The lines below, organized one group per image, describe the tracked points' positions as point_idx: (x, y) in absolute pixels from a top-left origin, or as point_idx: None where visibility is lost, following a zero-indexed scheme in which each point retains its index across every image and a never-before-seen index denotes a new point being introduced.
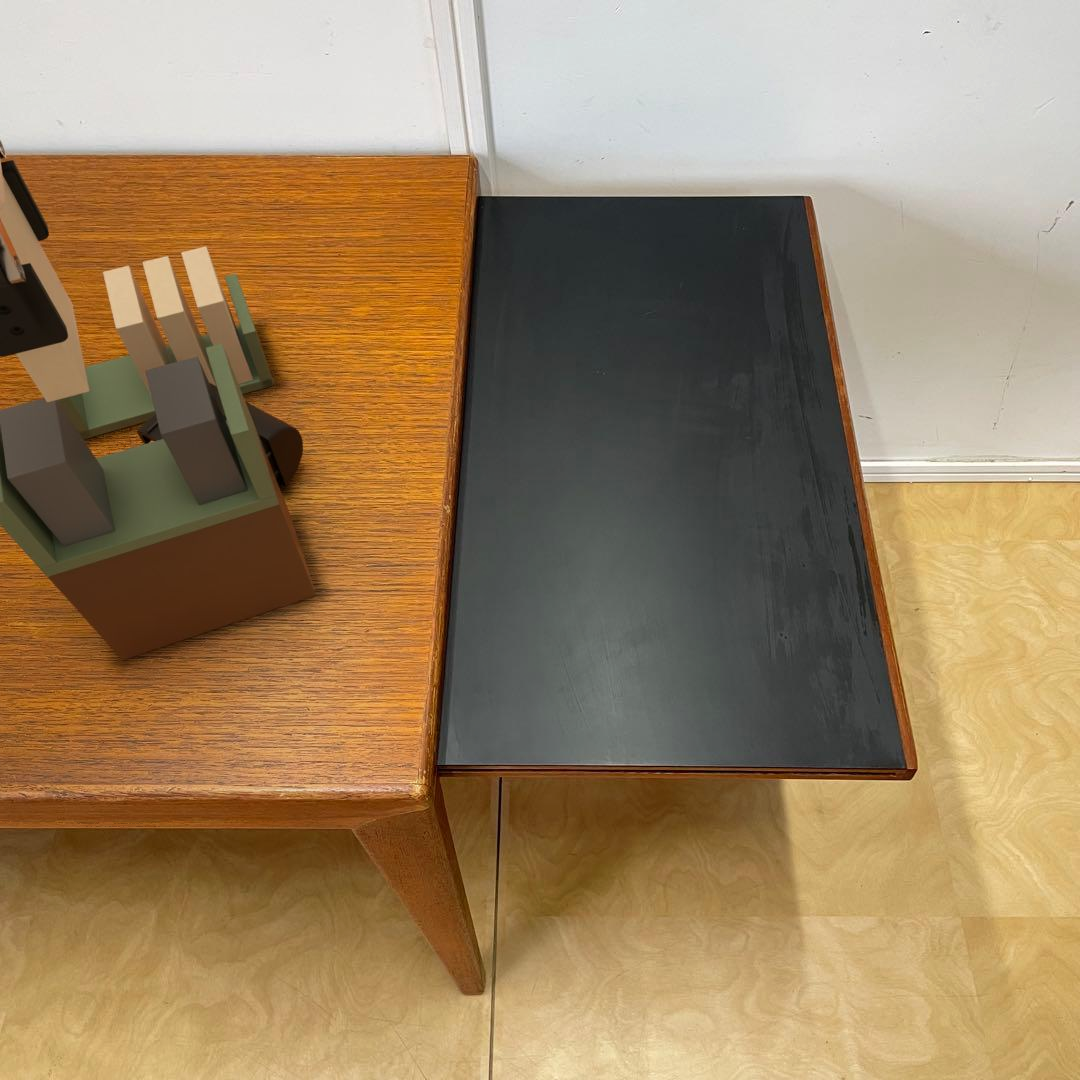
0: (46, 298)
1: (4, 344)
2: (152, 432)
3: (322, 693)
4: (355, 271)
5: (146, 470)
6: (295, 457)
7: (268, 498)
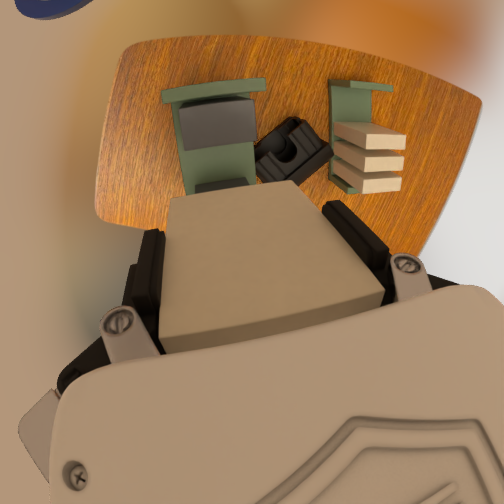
0: None
1: (131, 265)
2: (299, 130)
3: (138, 184)
4: (376, 225)
5: (231, 153)
6: None
7: None
